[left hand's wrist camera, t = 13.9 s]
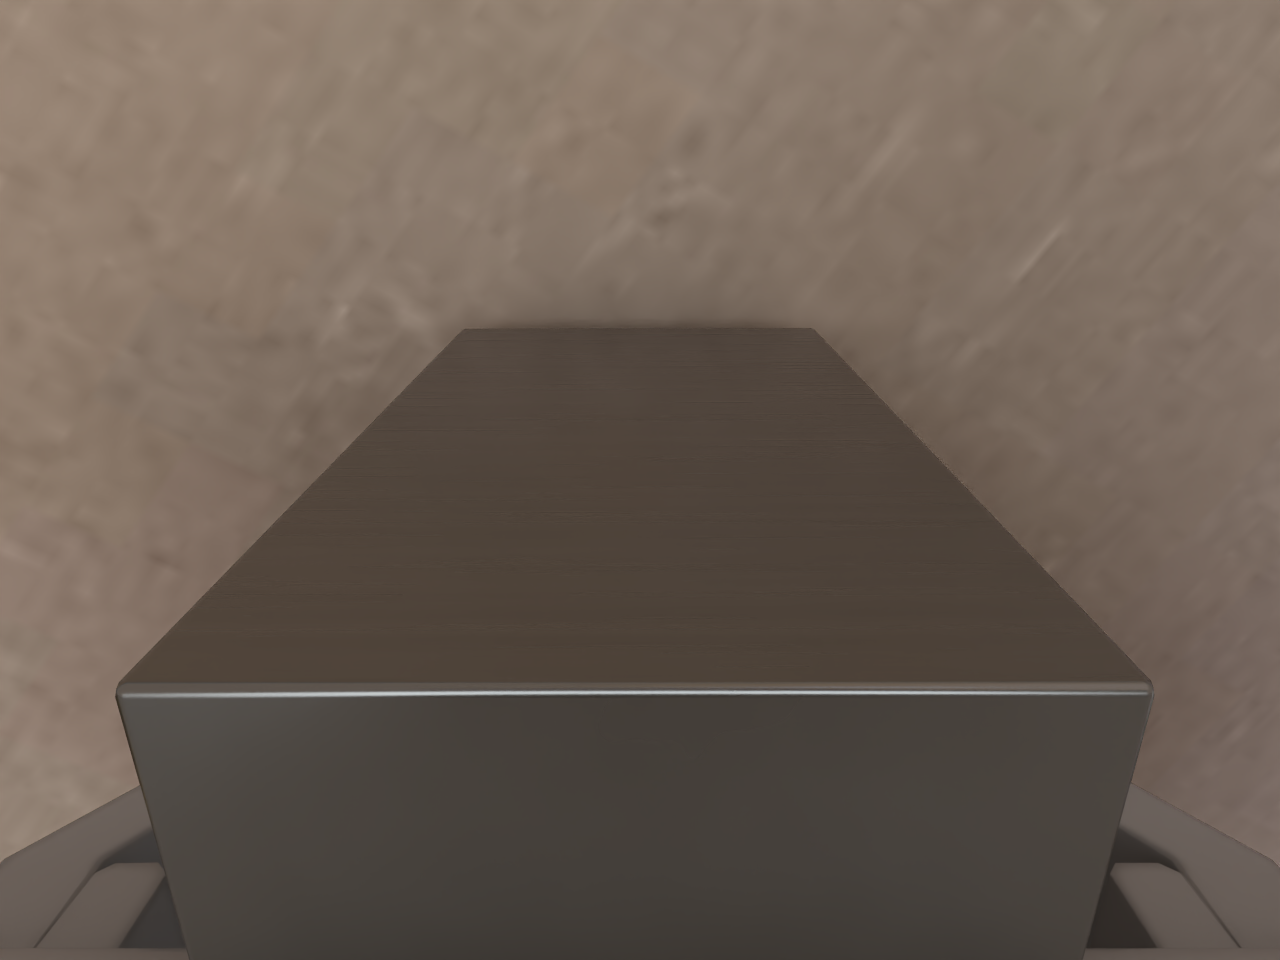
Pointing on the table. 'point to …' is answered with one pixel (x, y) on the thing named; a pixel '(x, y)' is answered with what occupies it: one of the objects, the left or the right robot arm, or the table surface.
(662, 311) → the table surface
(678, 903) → the bar
